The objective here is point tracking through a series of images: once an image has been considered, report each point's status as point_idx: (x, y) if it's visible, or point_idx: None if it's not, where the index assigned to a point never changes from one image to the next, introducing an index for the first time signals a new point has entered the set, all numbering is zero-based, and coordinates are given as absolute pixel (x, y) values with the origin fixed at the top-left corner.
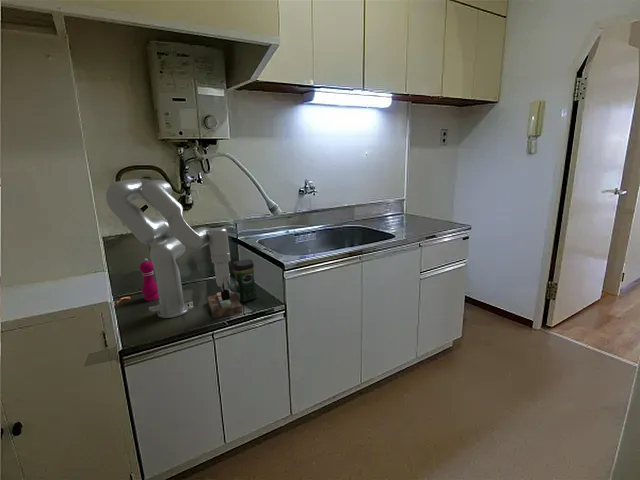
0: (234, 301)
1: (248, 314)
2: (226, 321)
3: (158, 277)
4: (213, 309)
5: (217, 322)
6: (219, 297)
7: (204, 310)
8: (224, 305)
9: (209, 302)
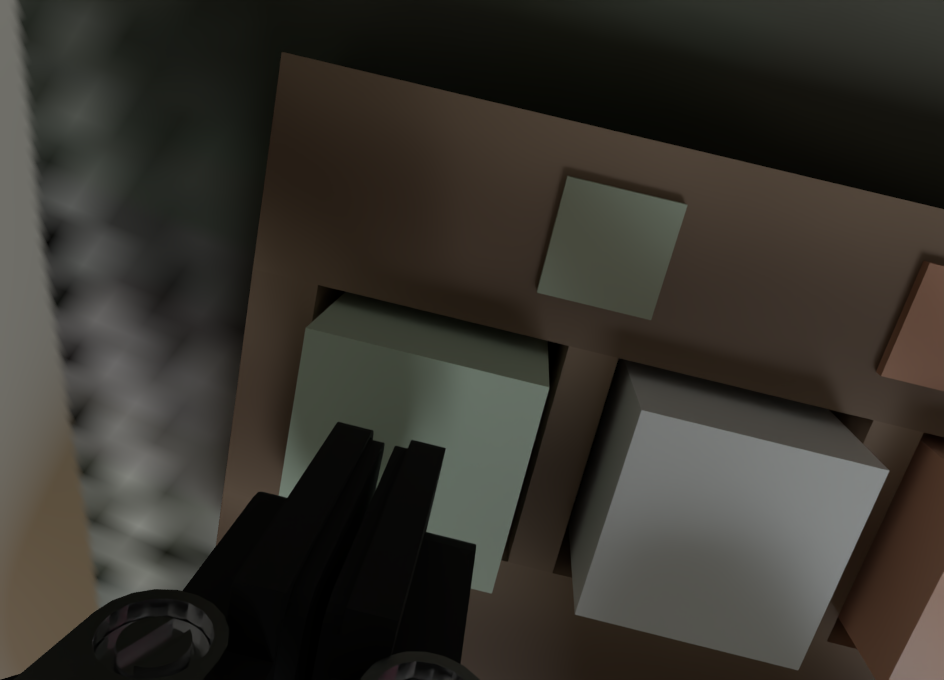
0: (504, 640)
1: (127, 589)
2: (56, 216)
3: None
4: (382, 117)
5: (100, 63)
6: (837, 484)
7: (859, 49)
8: (307, 384)
9: (908, 202)
